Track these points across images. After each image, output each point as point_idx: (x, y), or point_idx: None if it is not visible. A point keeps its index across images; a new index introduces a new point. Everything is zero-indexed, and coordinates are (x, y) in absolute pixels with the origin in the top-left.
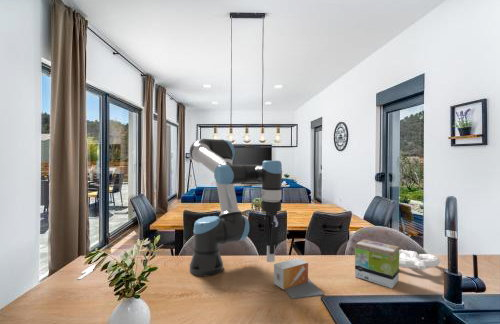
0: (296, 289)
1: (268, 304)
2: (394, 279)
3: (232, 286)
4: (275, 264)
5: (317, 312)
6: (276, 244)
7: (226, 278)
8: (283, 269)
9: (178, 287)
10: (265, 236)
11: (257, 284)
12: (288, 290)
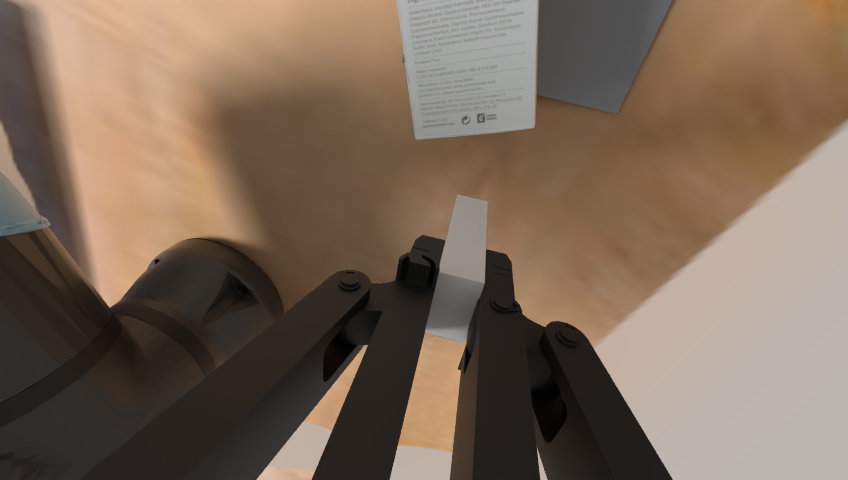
0: (564, 22)
1: (581, 233)
2: None
3: (384, 277)
4: (428, 135)
5: (828, 61)
6: (582, 343)
7: (314, 267)
8: (532, 127)
9: (339, 389)
10: (333, 364)
11: (405, 186)
12: (544, 80)
